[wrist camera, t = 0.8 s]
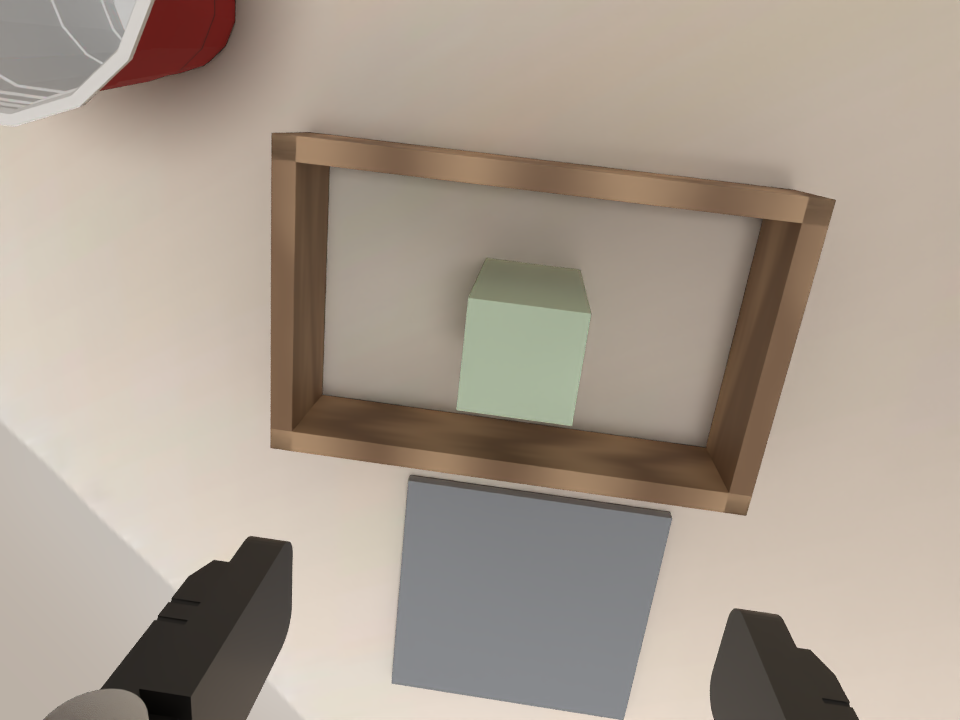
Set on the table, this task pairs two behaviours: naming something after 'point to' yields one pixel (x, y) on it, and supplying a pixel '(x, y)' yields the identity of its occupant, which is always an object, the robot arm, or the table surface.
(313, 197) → the wooden frame
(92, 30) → the plastic cup
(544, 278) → the sage block
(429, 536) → the slate mat
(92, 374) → the table surface
